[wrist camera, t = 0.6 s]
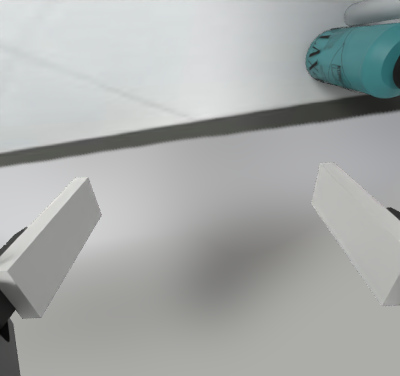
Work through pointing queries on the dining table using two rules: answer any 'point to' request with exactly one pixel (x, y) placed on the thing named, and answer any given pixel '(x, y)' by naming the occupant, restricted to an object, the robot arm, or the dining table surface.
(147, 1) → the dining table surface
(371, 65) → the beverage bottle
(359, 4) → the cord rack
